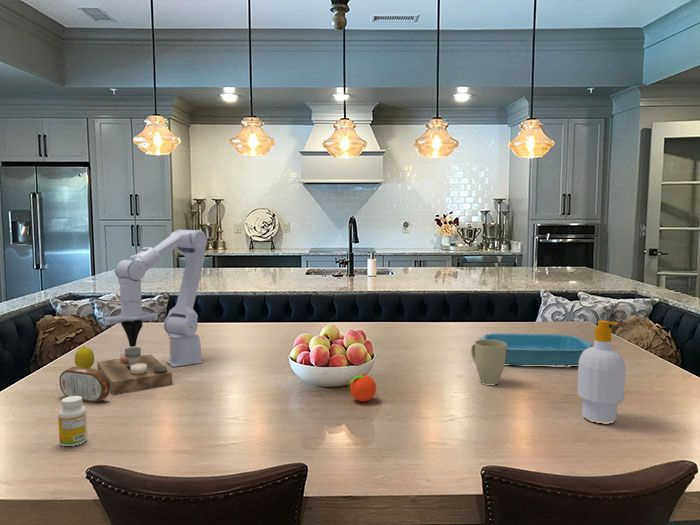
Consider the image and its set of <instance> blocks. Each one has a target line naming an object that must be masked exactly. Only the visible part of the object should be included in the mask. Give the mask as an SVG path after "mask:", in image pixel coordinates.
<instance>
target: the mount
mask: <svg viewBox="0 0 700 525" xmlns="http://www.w3.org/2000/svg"><path fill="white" fill-rule="evenodd" d="M137 362H138V363H145V364H147V372H146V373H143V374H140V375H134V374H131V370H130V367H129V363H125V364H124V363H122V362H121V361H120V358H115V359H108V360H101V361H97V366H96V367H97V370H99V371H101V372H103V373H104V374H105V375H106V376H107V378H108V380H109V383H110V392H111V393H110V394H112V395H113V394H114V395H119V393H120V394H125V393H124V392H126V393H130V391H132V392H137V390H138V391H143V389H144V390H148V389H154V388H160V387H165V386H167V387H168V386H172V385H173V373H172V372H173V371H172V372H171V371H170V369H168V367H167V366H166V365H164V364H163V363H162V362H160V361H159V360H158V359H157V358H156V357H155V356H154V355H152V354H151V353H150V354H145V355H140V356H138V357H137Z"/></svg>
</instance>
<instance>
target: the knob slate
mask: <svg viewBox="0 0 700 525" xmlns="http://www.w3.org/2000/svg"><path fill="white" fill-rule="evenodd" d="M141 350H142V349H141V347H138V346H134V347H127V348H125V349H124V353H125V357H128V358H129V367H130V366H131V365H132V364H136V363H138V362H137V357H138V356H142V352H141Z"/></svg>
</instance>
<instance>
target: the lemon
mask: <svg viewBox="0 0 700 525" xmlns="http://www.w3.org/2000/svg"><path fill="white" fill-rule="evenodd" d="M94 363H95V353H94V351H93V350H92V348H90V347H87V346H85V345H83V346H81V347H80V348H79V349H77V351H76V352H75V354H74V364H75V367H81V368H88V369H91V368H92V367H93V365H94Z"/></svg>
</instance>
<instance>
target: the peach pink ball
mask: <svg viewBox="0 0 700 525" xmlns="http://www.w3.org/2000/svg"><path fill="white" fill-rule="evenodd" d="M119 359H120V361H121V362H122V363H124V364H125V363H129V358H128V357H125V352H124V353H121V354H120V355H119Z"/></svg>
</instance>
